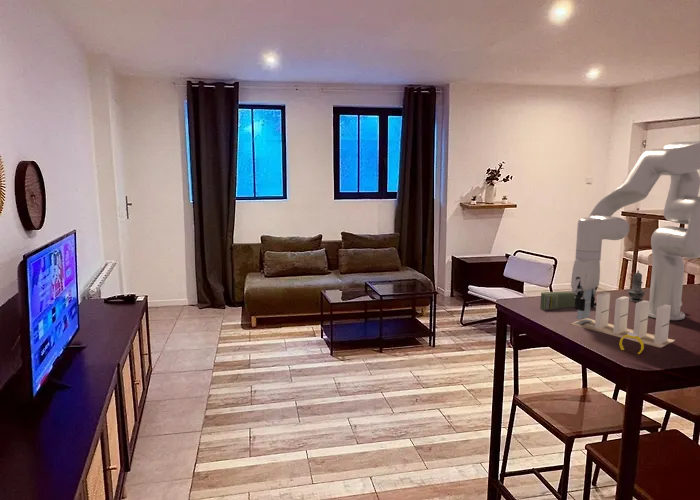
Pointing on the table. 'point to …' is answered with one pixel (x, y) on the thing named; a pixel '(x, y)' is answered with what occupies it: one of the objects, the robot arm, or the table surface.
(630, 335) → the yellow wristwatch
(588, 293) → the domino
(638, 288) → the dark grey tall piece
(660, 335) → the domino
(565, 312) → the table surface
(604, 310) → the domino
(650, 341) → the board
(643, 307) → the domino
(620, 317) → the domino
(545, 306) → the handheld radio
